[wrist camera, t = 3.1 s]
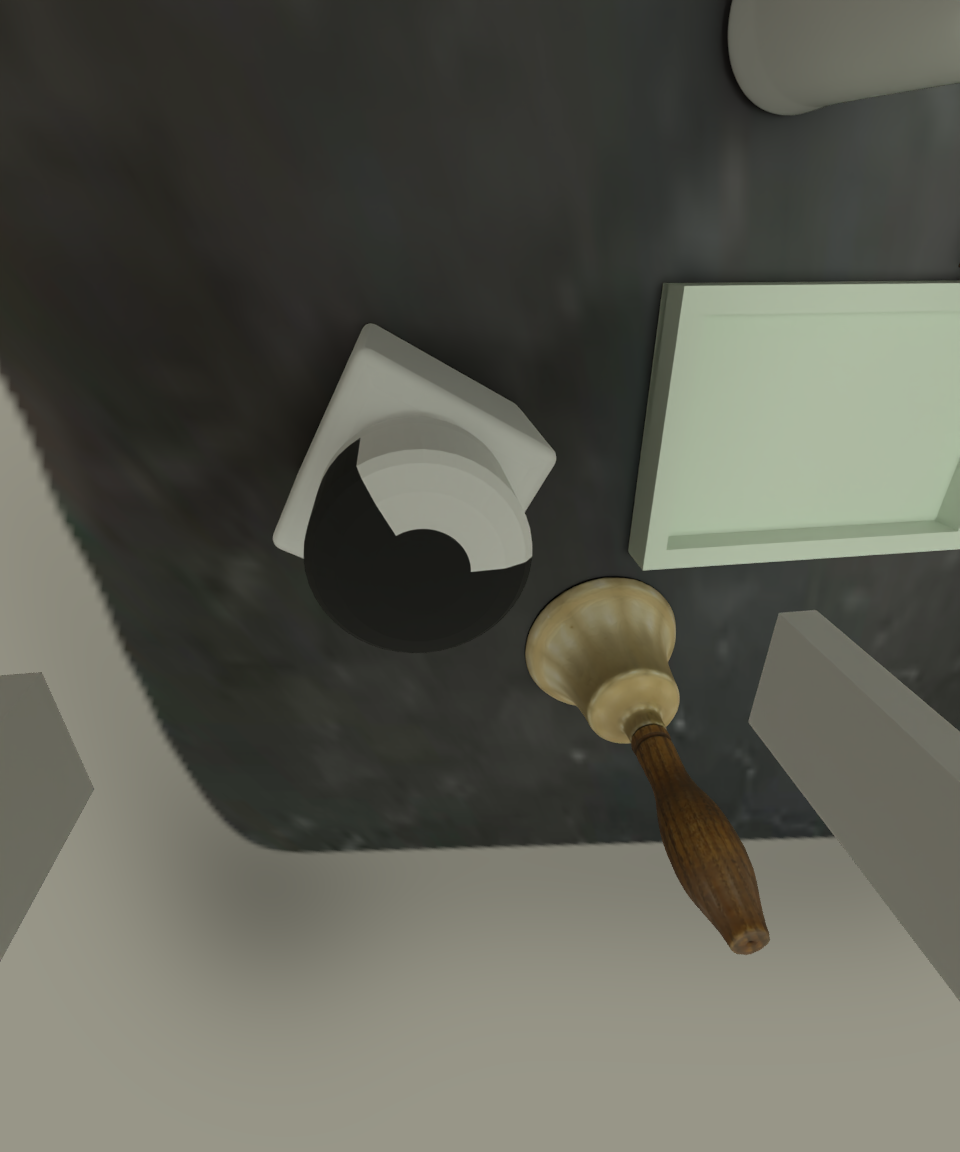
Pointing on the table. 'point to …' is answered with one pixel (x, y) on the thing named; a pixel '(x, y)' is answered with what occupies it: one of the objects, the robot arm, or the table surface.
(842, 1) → the drinking glass
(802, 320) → the tray
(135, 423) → the table surface
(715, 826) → the hand bell
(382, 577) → the medicine bottle
